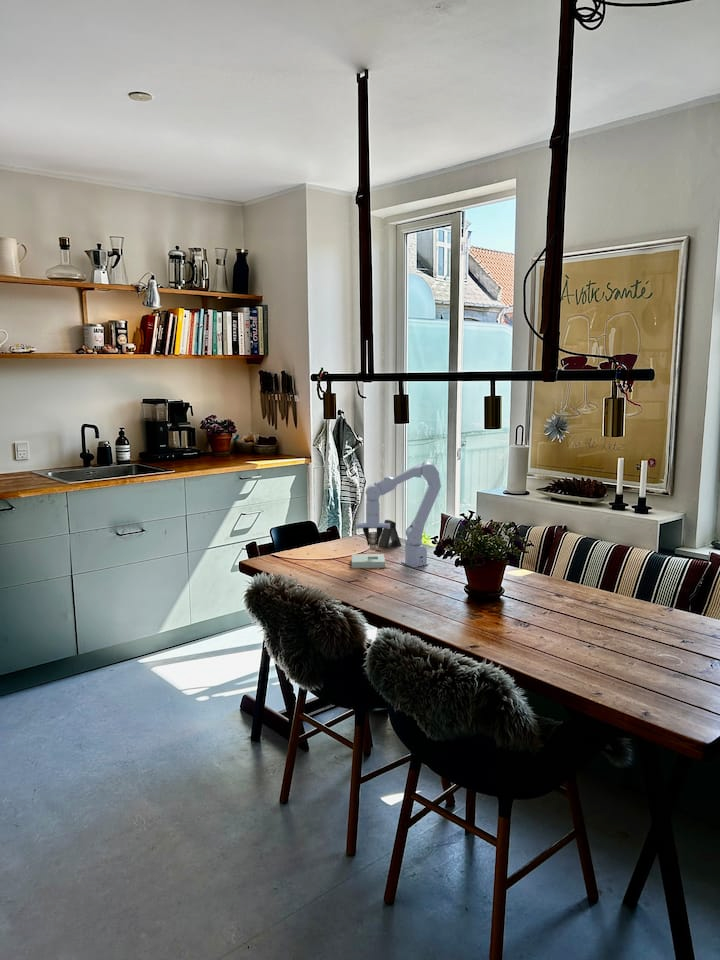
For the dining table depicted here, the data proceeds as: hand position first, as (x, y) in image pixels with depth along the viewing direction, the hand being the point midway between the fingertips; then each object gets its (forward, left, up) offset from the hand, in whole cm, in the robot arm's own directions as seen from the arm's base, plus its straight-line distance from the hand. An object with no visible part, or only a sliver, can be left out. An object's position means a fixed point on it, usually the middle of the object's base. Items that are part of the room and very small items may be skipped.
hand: (372, 544), depth 299 cm
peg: (0, 0, -2) cm, 2 cm away
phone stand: (+21, -23, -8) cm, 32 cm away
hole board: (+1, +2, -8) cm, 9 cm away
